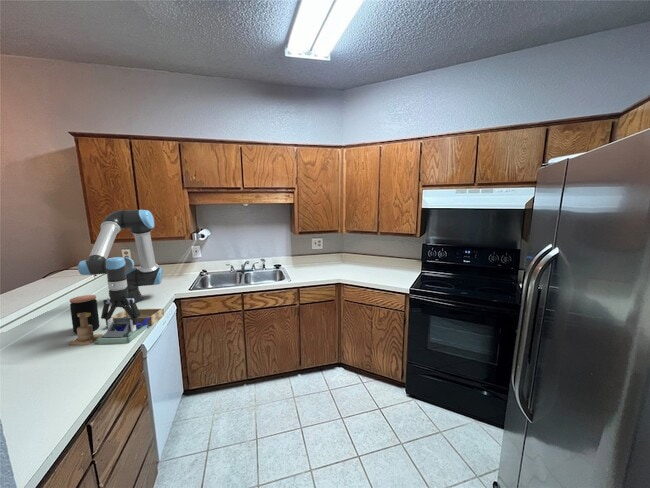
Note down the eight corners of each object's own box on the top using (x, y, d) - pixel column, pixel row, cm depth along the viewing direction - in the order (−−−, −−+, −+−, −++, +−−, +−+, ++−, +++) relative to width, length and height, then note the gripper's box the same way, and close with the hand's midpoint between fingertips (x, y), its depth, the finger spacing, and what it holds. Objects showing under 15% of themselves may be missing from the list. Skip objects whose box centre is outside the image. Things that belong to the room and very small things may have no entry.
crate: (126, 319, 161) (125, 309, 160) (164, 318, 162) (163, 308, 161) (110, 328, 148) (109, 318, 147) (151, 327, 149) (150, 317, 148)
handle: (84, 336, 139) (81, 310, 137) (102, 336, 140) (99, 309, 138) (68, 345, 130) (65, 317, 129) (88, 344, 131) (84, 316, 129)
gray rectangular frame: (107, 339, 134) (103, 337, 132) (119, 318, 143) (116, 315, 140) (125, 339, 134) (122, 337, 132) (136, 318, 143) (133, 315, 140)
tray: (119, 329, 147) (119, 325, 147) (148, 328, 148) (148, 324, 148) (96, 344, 131) (96, 339, 131) (128, 343, 132) (128, 338, 132)
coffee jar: (97, 324, 154) (93, 293, 152) (102, 329, 147) (98, 297, 145) (71, 331, 146) (67, 298, 143) (75, 336, 139) (71, 302, 137)
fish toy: (113, 335, 137) (113, 321, 138) (117, 332, 144) (116, 319, 144) (149, 329, 144) (148, 316, 144) (150, 326, 151) (150, 314, 151)
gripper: (88, 291, 131) (93, 335, 134) (137, 290, 133) (141, 334, 135) (100, 286, 139) (104, 328, 142) (146, 286, 140) (150, 327, 143)
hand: (122, 331), depth 139 cm, fingers open, 10 cm apart
